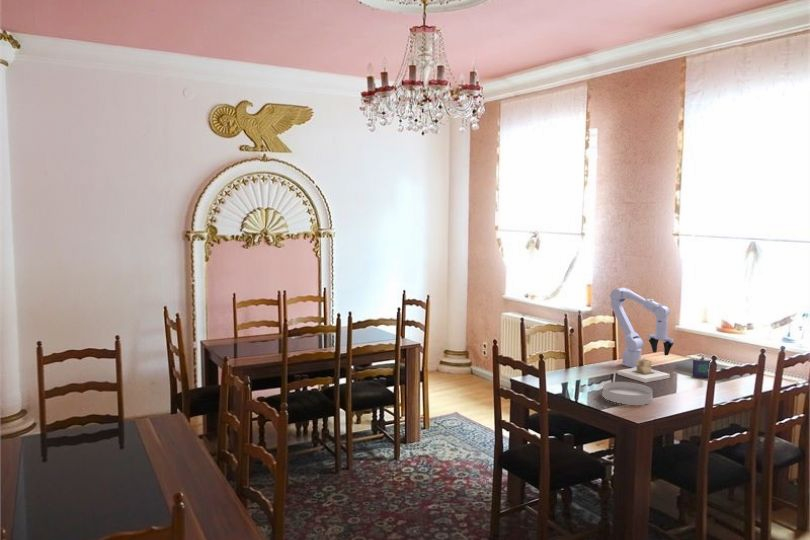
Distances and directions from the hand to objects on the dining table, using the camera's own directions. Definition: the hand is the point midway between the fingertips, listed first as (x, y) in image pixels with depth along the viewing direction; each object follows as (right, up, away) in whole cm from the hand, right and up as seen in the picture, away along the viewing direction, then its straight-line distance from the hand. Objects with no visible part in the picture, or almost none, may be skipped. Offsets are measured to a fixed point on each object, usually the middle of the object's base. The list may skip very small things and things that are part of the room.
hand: (660, 353), depth 342 cm
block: (-12, -8, -9) cm, 18 cm away
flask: (+17, -11, -10) cm, 23 cm away
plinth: (-13, -10, -9) cm, 19 cm away
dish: (-34, -15, -47) cm, 60 cm away
